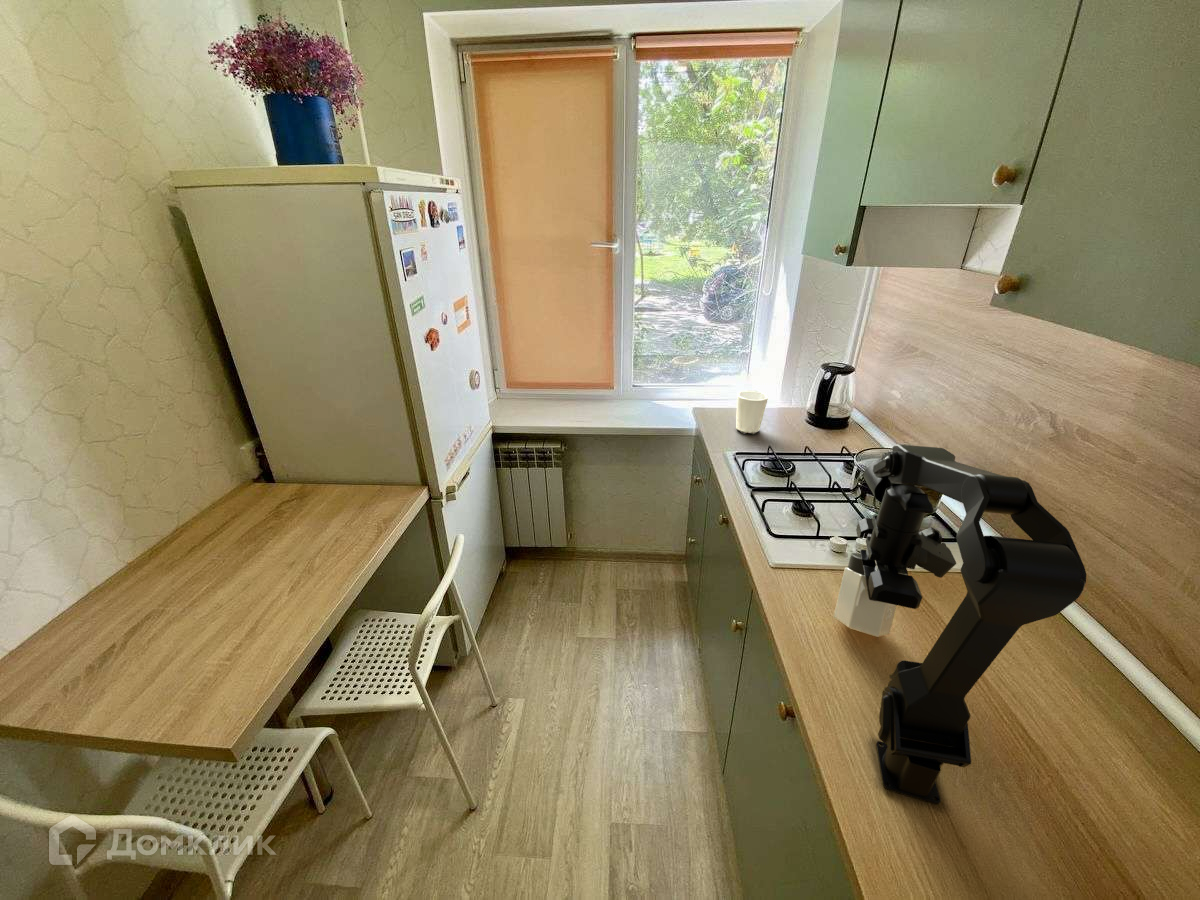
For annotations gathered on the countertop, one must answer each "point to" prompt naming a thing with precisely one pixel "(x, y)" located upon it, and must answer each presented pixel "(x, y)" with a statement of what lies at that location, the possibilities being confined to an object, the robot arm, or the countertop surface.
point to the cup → (750, 411)
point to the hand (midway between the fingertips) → (872, 599)
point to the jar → (861, 603)
